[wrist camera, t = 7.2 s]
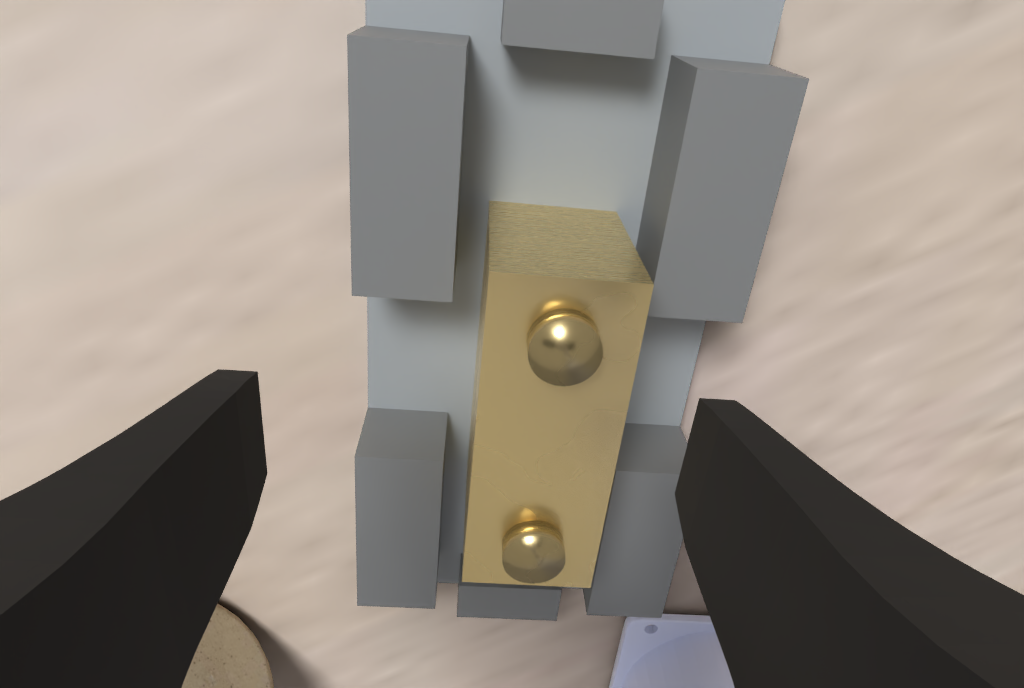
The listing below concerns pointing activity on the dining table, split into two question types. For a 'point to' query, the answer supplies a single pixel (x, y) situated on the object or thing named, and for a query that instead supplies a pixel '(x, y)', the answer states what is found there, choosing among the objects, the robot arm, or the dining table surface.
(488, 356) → the link
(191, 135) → the dining table surface
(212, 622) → the ceramic mug
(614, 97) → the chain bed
